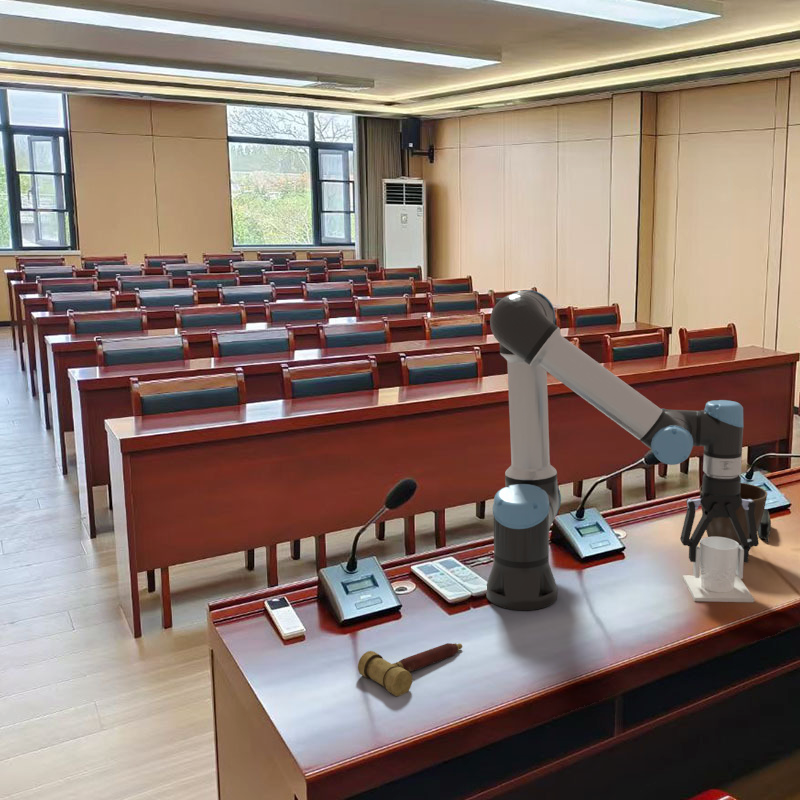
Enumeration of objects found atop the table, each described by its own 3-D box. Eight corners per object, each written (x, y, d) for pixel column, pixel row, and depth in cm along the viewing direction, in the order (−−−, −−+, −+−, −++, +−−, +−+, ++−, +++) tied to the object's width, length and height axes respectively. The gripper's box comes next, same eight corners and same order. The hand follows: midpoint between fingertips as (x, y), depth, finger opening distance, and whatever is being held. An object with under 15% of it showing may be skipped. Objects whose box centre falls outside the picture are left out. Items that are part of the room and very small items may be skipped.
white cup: (730, 579, 187) (733, 536, 186) (741, 594, 180) (743, 549, 178) (694, 579, 188) (695, 536, 186) (702, 594, 181) (705, 549, 179)
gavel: (444, 625, 165) (480, 643, 157) (443, 647, 166) (479, 666, 158) (357, 654, 152) (392, 675, 144) (357, 678, 152) (392, 700, 145)
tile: (694, 601, 179) (694, 597, 179) (682, 578, 191) (682, 575, 190) (754, 602, 178) (754, 598, 177) (738, 579, 189) (738, 576, 189)
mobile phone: (756, 506, 224) (759, 523, 210) (768, 507, 223) (772, 524, 209) (755, 524, 225) (758, 542, 211) (767, 525, 224) (771, 543, 210)
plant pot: (777, 562, 198) (781, 496, 195) (719, 569, 195) (722, 502, 192) (739, 541, 212) (742, 479, 209) (685, 547, 209) (687, 484, 206)
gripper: (673, 479, 177) (670, 581, 181) (779, 479, 174) (774, 583, 179) (666, 469, 184) (663, 568, 188) (768, 469, 182) (763, 569, 186)
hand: (717, 575), depth 183 cm, fingers open, 8 cm apart
